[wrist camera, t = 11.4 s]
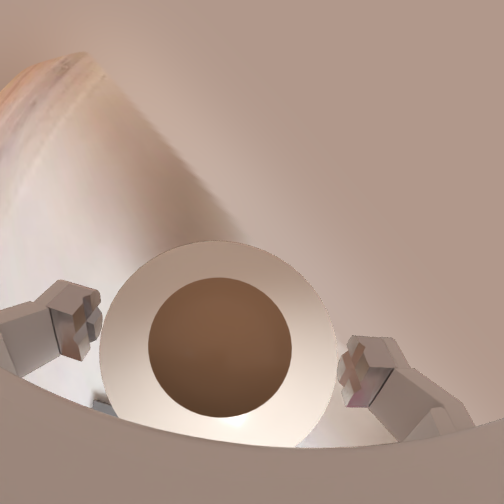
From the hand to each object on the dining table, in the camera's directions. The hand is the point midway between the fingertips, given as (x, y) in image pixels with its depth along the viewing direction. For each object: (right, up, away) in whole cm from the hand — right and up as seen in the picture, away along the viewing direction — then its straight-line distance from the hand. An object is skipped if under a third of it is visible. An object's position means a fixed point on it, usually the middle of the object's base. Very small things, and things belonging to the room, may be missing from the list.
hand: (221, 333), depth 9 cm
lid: (-1, -3, +6) cm, 6 cm away
